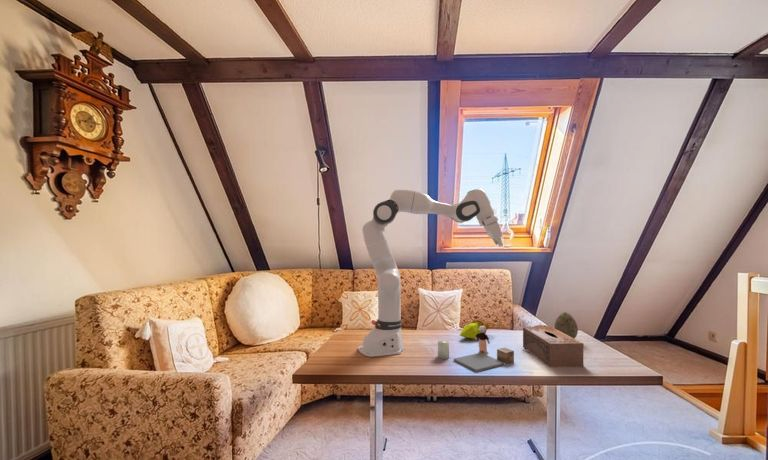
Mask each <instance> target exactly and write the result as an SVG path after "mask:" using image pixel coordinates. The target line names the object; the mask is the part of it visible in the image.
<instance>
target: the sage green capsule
mask: <svg viewBox="0 0 768 460" xmlns="http://www.w3.org/2000/svg"><path fill="white" fill-rule="evenodd" d="M437 357H438V359H441V360H447V359H450V341H449V340H446V339H439V340H438V341H437Z"/></svg>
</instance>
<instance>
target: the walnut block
mask: <svg viewBox="0 0 768 460" xmlns="http://www.w3.org/2000/svg"><path fill="white" fill-rule="evenodd" d="M496 359H497V360H499V361H501V362H504V363H505V364H504V365H508V364H511V362H512V363H515V351H514V350H512V349H510V348H507V347H501V348H497V349H496ZM507 363H508V364H507Z"/></svg>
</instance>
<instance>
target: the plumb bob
mask: <svg viewBox="0 0 768 460" xmlns="http://www.w3.org/2000/svg"><path fill="white" fill-rule="evenodd" d="M493 325H495V323H494V322H487V321H482V320H480V319H475V320H473V321H471V323H468V324H465V325H464V326H463V328H462V330H461V331H460V334H459V337H463V338H466V339H470V340H473V339H474V340H475V337H476V335H477V334H478V333H481V332H480V331H479V330H478V329H479V328H480V326H485V327H486V330H485V333H484V334H486V335H487V330H489V328H490V327H491V326H493Z"/></svg>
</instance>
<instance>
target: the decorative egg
mask: <svg viewBox="0 0 768 460" xmlns="http://www.w3.org/2000/svg"><path fill="white" fill-rule="evenodd" d="M553 328H555V329H557V330H559V331H561V332H563V333H565V334H566V335H568V336H570V337H572V338H574V339H576V338H577V336H578V331H579V329H578V325H577V322H576V320H575V318H574V317H573V315H571V314H570V313H569V312H566V311H563V312H561V313H560V314H559V315H558V316H557V318H556V319H555V322H554V326H553Z"/></svg>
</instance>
